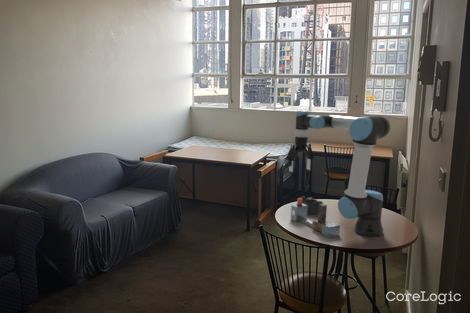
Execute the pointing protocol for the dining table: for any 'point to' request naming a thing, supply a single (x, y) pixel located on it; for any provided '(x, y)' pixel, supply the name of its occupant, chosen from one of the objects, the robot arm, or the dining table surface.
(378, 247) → the dining table surface
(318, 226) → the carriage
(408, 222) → the dining table surface
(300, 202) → the plunger
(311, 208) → the camera
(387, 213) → the dining table surface
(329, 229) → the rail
